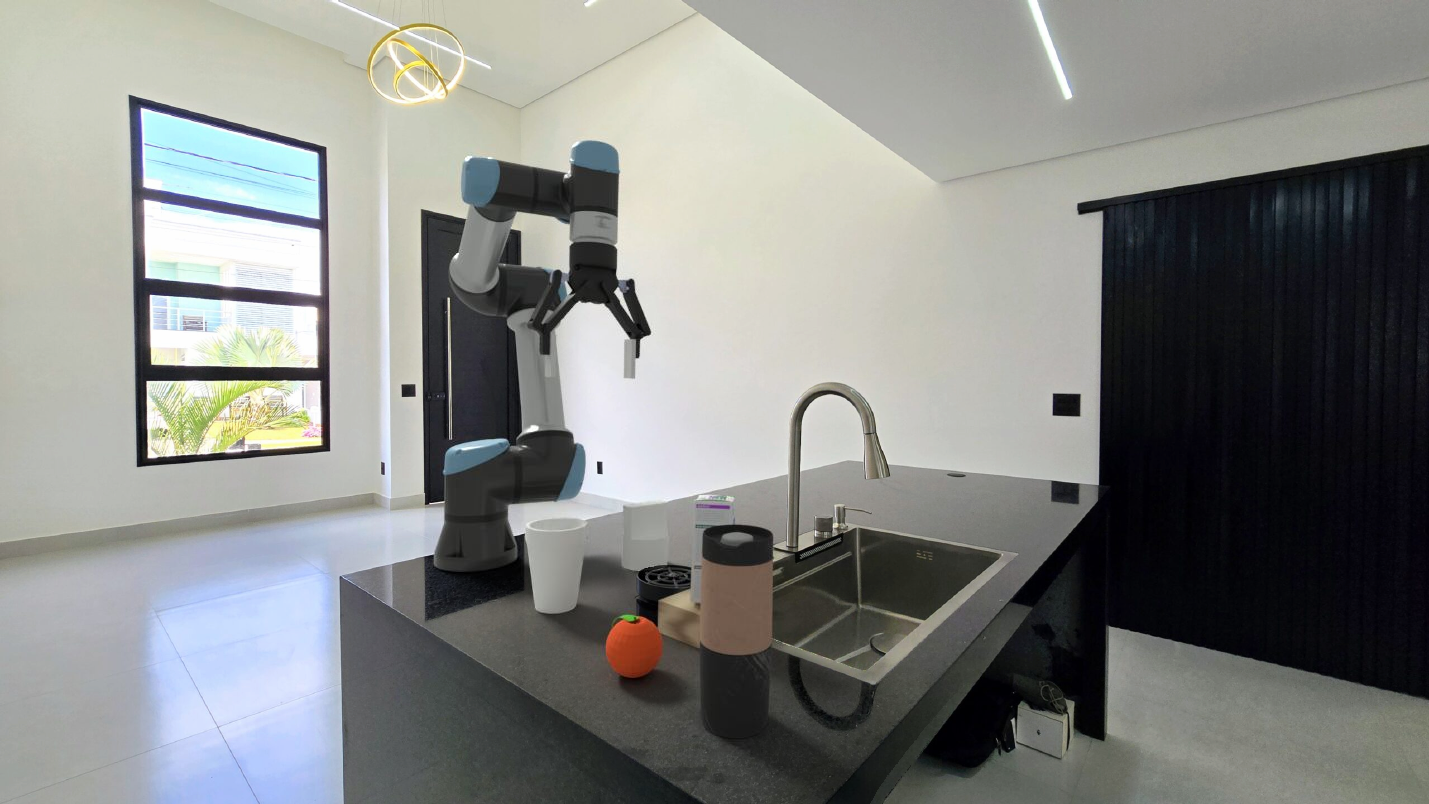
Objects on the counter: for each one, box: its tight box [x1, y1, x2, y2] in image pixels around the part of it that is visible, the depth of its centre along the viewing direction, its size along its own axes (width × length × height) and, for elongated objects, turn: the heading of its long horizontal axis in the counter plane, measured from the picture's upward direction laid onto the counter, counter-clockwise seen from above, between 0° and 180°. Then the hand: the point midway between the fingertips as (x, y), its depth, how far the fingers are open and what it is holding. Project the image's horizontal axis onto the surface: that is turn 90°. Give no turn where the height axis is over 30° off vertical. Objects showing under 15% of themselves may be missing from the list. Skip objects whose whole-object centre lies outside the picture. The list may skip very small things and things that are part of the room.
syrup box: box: [690, 494, 737, 603], centre depth 87 cm, size 6×6×14 cm
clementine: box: [605, 614, 664, 679], centre depth 74 cm, size 8×7×7 cm
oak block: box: [657, 588, 701, 650], centre depth 87 cm, size 11×11×5 cm
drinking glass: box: [621, 499, 670, 570], centre depth 118 cm, size 9×9×12 cm
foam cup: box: [524, 517, 589, 615], centre depth 95 cm, size 10×9×13 cm
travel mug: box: [699, 523, 774, 739], centre depth 64 cm, size 8×8×20 cm
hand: (591, 378), depth 98 cm, fingers open, 13 cm apart
